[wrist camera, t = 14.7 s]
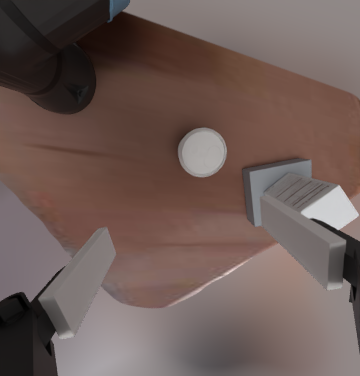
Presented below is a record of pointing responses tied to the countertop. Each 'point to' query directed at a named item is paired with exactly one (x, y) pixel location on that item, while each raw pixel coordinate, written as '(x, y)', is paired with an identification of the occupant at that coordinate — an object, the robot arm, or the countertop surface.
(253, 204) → the slate riser block
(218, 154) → the supplement can
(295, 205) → the supplement box
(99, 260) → the robot arm
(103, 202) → the countertop surface
